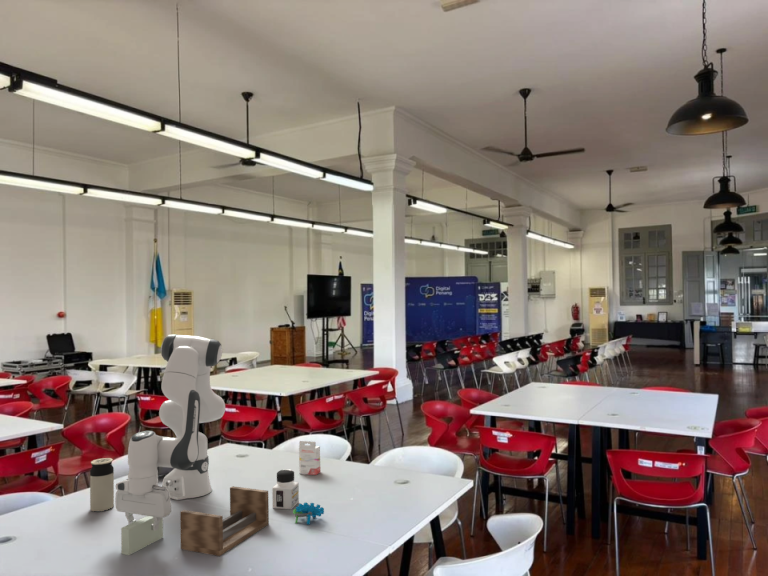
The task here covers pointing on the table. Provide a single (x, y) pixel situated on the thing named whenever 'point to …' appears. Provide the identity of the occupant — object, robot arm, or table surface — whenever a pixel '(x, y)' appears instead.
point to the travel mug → (101, 485)
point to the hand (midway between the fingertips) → (143, 527)
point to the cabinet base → (225, 523)
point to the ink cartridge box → (309, 458)
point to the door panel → (139, 535)
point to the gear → (307, 511)
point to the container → (285, 490)
